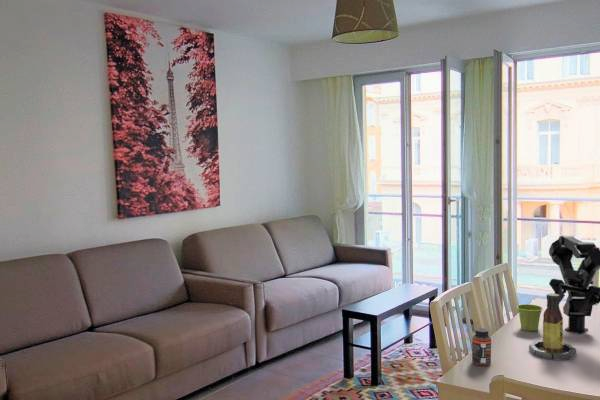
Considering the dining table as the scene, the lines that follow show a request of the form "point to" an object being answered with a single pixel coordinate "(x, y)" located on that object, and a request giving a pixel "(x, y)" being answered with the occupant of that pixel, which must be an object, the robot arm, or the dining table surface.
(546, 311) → the sauce bottle
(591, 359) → the dining table surface
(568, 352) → the dark grey octagonal tray
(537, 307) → the plant pot
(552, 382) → the dining table surface
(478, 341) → the supplement bottle
